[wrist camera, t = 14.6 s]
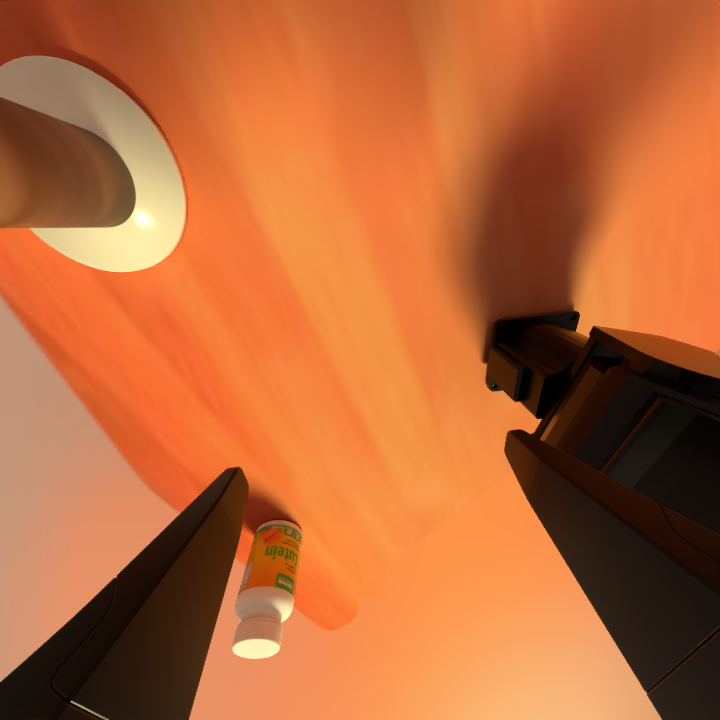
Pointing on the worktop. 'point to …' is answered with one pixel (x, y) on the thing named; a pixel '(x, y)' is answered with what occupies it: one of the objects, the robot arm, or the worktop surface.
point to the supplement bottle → (267, 589)
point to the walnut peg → (59, 174)
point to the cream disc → (129, 139)
